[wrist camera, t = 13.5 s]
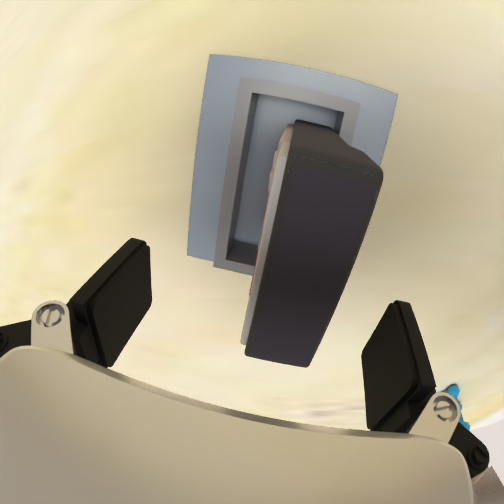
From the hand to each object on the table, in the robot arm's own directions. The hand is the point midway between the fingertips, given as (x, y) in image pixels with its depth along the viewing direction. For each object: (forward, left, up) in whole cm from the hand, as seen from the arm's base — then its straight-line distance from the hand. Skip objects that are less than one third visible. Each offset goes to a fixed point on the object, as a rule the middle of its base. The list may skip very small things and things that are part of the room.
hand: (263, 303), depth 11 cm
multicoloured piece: (-1, 0, -17) cm, 17 cm away
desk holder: (0, 0, -18) cm, 18 cm away
